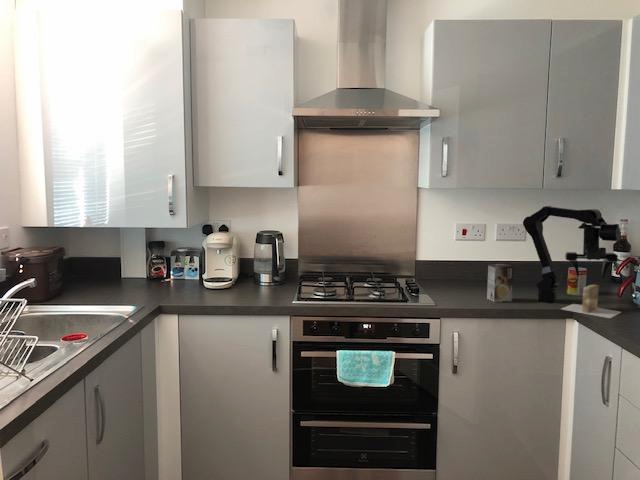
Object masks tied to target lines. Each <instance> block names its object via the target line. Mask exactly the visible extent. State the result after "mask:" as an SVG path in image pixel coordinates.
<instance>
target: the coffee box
mask: <svg viewBox="0 0 640 480" xmlns="http://www.w3.org/2000/svg"><path fill="white" fill-rule="evenodd" d="M513 285H514V265H512V264H507V263H495V264H494V263H492V264H491V263H490V264H489V263H488V264H487V288H486V289H487V293H486V294H487V295H486V299H487V300H488V299H489V300H488V301H490V300H491V302H492V301H493V303H503V301H504V303H505V301H506V302H513V293H514V292H513V289H514V286H513Z"/></svg>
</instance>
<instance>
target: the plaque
mask: <svg viewBox="0 0 640 480" xmlns="http://www.w3.org/2000/svg"><path fill="white" fill-rule="evenodd" d="M599 287H600V285H599V284H593V283H592V284H589V285H587V286H586V287H584V288H583V295H582V301H581V303H582V304H581V305H582V312H586V313H589V312H591V311H593V310H595V309H597V308H598V303H599V302H598V299H599Z"/></svg>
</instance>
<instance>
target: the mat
mask: <svg viewBox="0 0 640 480" xmlns="http://www.w3.org/2000/svg"><path fill="white" fill-rule="evenodd" d="M561 310H563V311H569V312H574V313H580V314H585V315H591V316H595V317H599V318H600V317H601V318H606V319H612V318H613V317H615V316H617V315H619V314H622V311H619V310H613V309H612V310H611V309H608V308H603V307H602V308H601V307H597V309H595V310H593V311H591V312H589V313H586V312H582V304H578V303H572V304H569V305H566V306H565V307H562V308H561Z"/></svg>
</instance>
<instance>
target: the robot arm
mask: <svg viewBox="0 0 640 480" xmlns="http://www.w3.org/2000/svg"><path fill="white" fill-rule="evenodd" d="M550 216H551V217H559V218H565V219H574V220H576V221H579V222H582V223H581V225H579V226H578V227H577V228H578V229H580V230H582V229H583V242H582V243H583V244H582V245H583V247H582V250H583V251H582V253H577V252H576V251H573V252H572V251H567V252H566V253H565V256H564V258H565V260H566V261H568V262H569V263H571V264H572V265H573V267H574V268H575V271H576V274H577V277H579V271H578V268H579V261H578V259H582V260H583V259H585V260H588V261H591V260H596V261H600V260H602V261H603V262H602V269H601V278H602V279H604V278H605V275H606V272H607V270H608V268H609V266H610V265H611V264H614V263H615V262H618V258H619V257H618V255H617V254H616V253H614V252H607V248H606V247H600V239H601V241H604V242H605V241H607V242H620V239H621V237H622V231H621V228H620V224H619V223H614V224H611V223H610V224H609V223H607V222H606V220H605V219H604V218H603V216H602V212H601V211H600V210H599V209H596V208H593V209H589V208H587V209H572V208H564V207H558V206H557V207H555V206H552V205H548V206H543V207H542V208H540V209H539V210H538V211H536V212H535V213H532V214H531V215H530V216H526V217H525V218H524V220H523V222H522V224H523V228H524V229H525V230H526V232H527V233H528V234H529V236H530V237H531V239H532V242H533V245H534V247H535V251H536V253H537V257H538V259H539V261H540V266H541V268H542V269H541V279H542V280H540V281H539V282H538V283H536V287H537V290H538V299H537V300H536V301H535V302H536V303H545V304H554V303H556V302H557V295H558V294H557V288H558V286H559V285H560V284H561V283H562V281H563V276H564V275H563V274H562V271H561V268H560V266H559V267H557V266H555V265H554V263H553V260H552V256H551V255H550V252H549V249H548V245H547V243H546V240H545V237H544V234H543V232H544V225H543V223H544V222H546V220H547V219H548V218H549V217H550Z"/></svg>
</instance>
